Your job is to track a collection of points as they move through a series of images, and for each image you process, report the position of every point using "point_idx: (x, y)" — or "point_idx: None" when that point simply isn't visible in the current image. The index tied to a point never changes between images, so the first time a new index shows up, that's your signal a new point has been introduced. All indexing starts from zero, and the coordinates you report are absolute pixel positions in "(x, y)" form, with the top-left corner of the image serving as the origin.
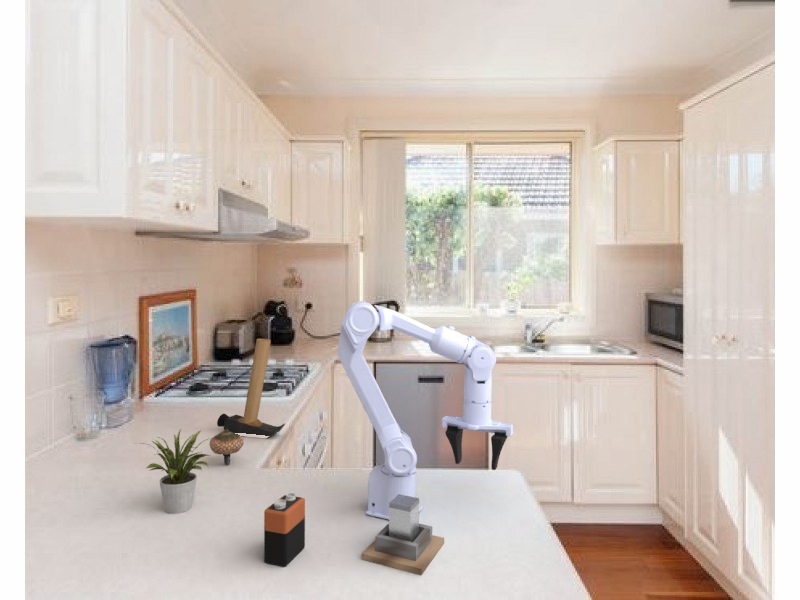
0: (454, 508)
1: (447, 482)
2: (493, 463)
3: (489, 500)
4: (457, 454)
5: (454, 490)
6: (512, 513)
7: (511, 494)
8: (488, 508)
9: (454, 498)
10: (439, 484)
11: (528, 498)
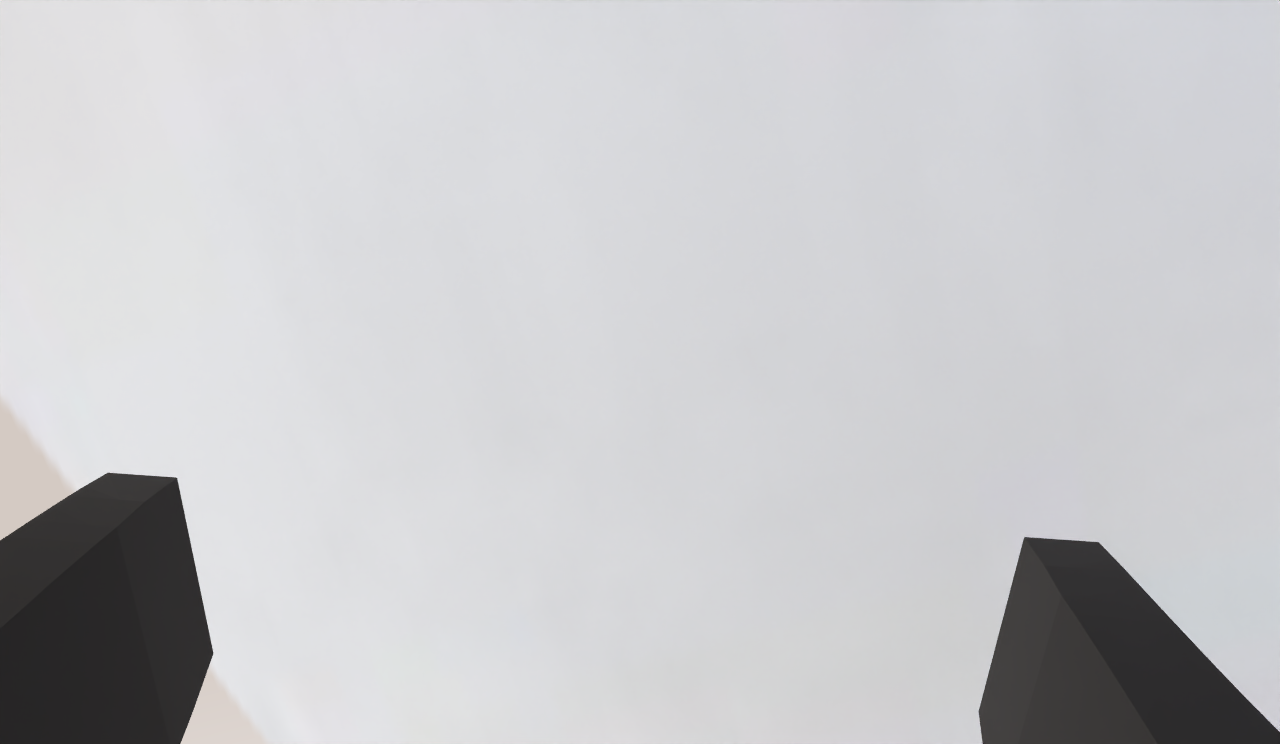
0: (936, 131)
1: None
2: (30, 553)
3: (558, 483)
4: (1129, 694)
5: None
6: (211, 262)
7: (380, 674)
8: (512, 288)
9: (980, 401)
10: None
11: None
